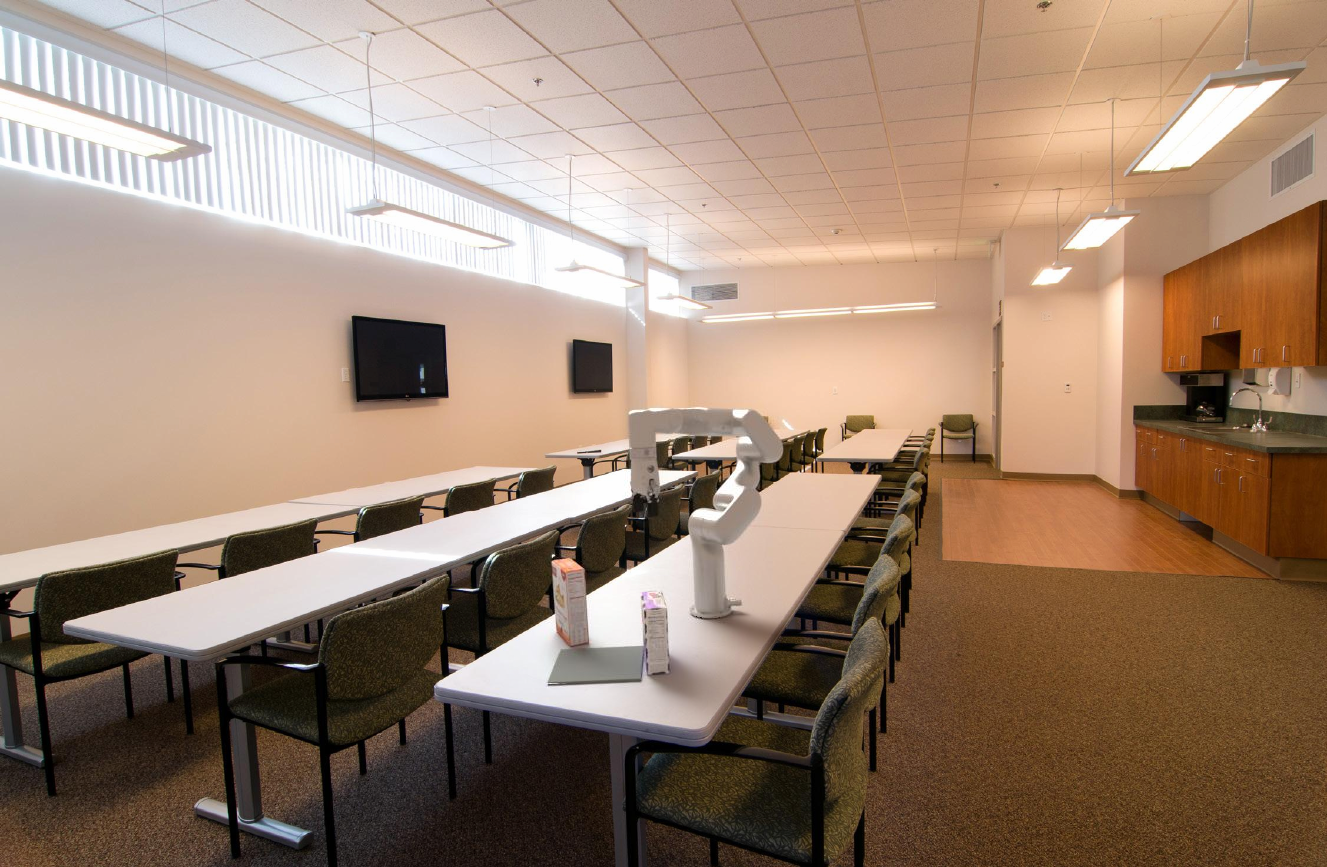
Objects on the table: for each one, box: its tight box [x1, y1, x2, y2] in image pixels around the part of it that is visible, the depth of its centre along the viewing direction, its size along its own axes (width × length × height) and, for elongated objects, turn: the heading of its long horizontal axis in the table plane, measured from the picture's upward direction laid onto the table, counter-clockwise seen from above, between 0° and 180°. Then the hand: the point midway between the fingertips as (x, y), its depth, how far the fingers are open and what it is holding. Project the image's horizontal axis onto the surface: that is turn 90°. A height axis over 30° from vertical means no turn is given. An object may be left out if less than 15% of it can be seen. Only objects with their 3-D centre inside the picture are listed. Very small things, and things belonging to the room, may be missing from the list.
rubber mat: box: [546, 645, 644, 684], centre depth 168 cm, size 22×20×1 cm
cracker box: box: [551, 557, 590, 647], centre depth 187 cm, size 14×6×21 cm, turn 24°
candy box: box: [640, 590, 670, 676], centre depth 167 cm, size 14×6×16 cm, turn 5°
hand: (645, 514), depth 189 cm, fingers open, 9 cm apart
